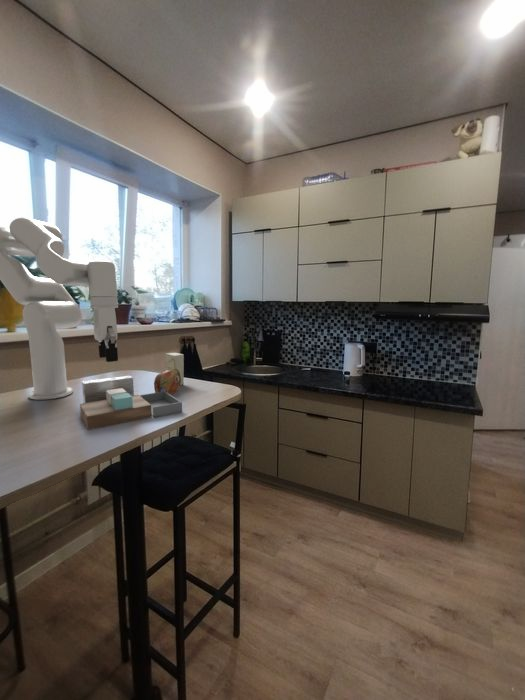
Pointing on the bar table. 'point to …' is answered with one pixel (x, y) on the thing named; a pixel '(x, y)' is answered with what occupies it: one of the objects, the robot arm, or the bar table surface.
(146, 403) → the board
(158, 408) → the box
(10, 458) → the bar table surface
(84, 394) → the grey rectangular block
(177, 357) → the skincare box
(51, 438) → the bar table surface
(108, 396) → the tile white
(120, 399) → the teal block
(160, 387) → the tin
